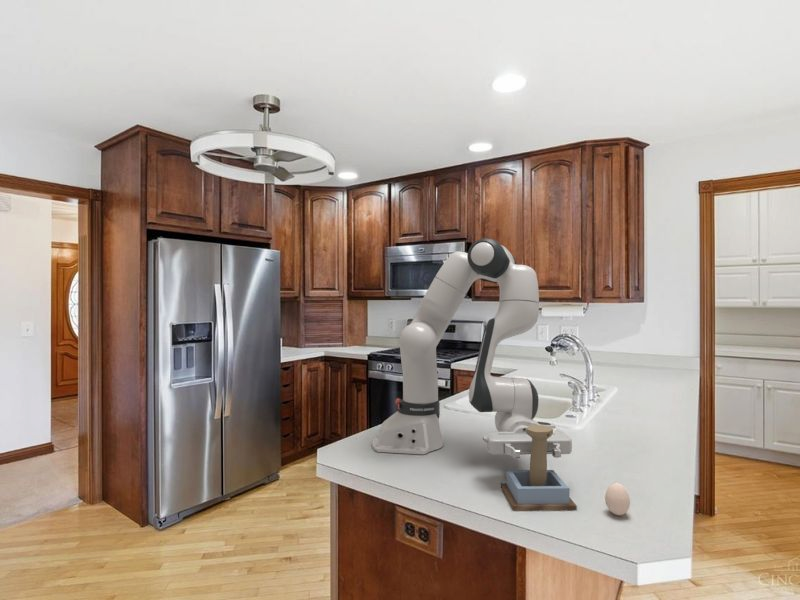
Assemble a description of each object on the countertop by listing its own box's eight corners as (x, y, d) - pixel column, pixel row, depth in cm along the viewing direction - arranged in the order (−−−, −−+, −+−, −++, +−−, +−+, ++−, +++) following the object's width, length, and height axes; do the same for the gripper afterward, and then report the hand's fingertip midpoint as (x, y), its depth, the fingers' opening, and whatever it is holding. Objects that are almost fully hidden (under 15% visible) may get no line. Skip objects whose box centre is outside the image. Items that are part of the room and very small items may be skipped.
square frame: (517, 504, 100) (517, 488, 100) (506, 484, 110) (506, 470, 110) (569, 504, 100) (569, 488, 100) (553, 484, 110) (553, 469, 110)
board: (512, 510, 99) (512, 506, 99) (500, 487, 111) (500, 483, 111) (576, 510, 99) (576, 505, 99) (557, 486, 111) (557, 482, 111)
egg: (608, 507, 101) (608, 477, 100) (632, 513, 98) (632, 482, 97) (602, 515, 97) (602, 484, 97) (626, 522, 94) (626, 490, 94)
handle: (519, 491, 106) (522, 427, 106) (538, 485, 109) (540, 424, 109) (535, 499, 102) (538, 433, 102) (554, 493, 105) (557, 429, 105)
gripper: (481, 423, 118) (492, 441, 104) (559, 423, 118) (581, 440, 104) (481, 447, 118) (492, 468, 104) (559, 447, 118) (581, 467, 104)
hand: (537, 454), depth 104 cm, fingers open, 8 cm apart
